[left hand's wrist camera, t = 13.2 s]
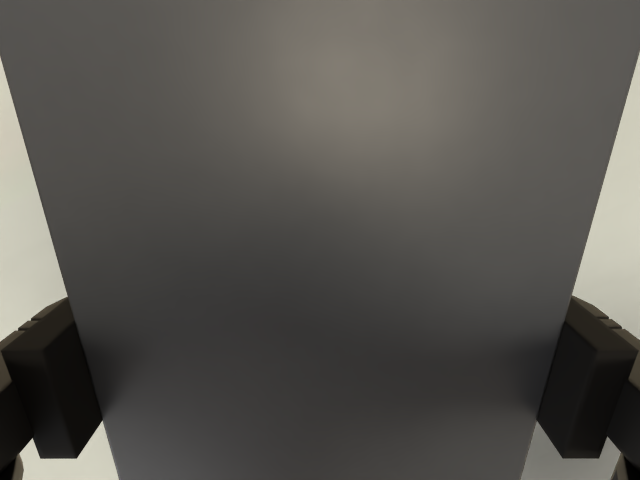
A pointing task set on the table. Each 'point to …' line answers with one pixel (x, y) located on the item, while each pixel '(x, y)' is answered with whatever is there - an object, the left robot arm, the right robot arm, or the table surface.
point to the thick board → (319, 220)
